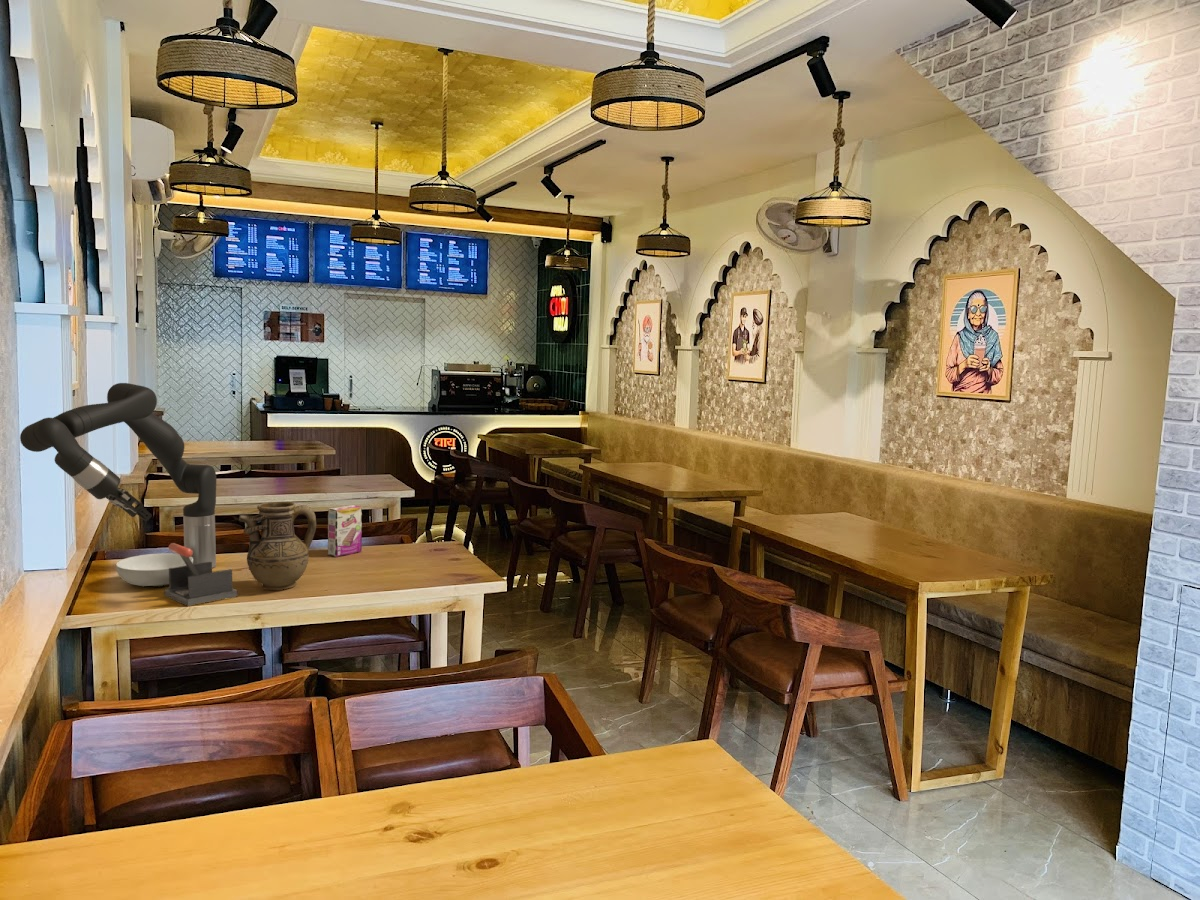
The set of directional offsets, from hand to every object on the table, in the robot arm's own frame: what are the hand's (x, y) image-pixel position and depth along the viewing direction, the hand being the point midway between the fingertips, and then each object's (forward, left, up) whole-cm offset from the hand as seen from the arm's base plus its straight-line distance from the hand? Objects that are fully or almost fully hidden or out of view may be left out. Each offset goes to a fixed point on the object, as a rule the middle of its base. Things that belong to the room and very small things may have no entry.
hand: (142, 516), depth 243 cm
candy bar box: (-19, +74, -25) cm, 81 cm away
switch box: (0, +15, -25) cm, 30 cm away
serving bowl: (-24, +12, -26) cm, 37 cm away
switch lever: (0, +15, -21) cm, 26 cm away
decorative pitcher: (+5, +36, -25) cm, 45 cm away
